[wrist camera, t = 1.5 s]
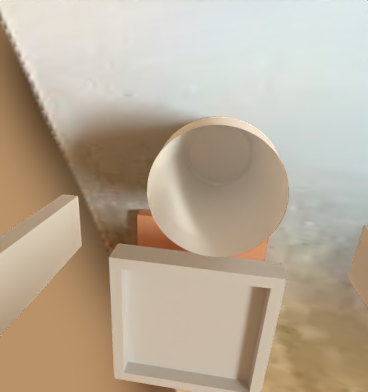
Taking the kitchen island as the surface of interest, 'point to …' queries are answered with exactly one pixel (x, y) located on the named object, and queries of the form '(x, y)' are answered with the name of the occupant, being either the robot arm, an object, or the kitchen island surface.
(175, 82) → the kitchen island surface
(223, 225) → the cup
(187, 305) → the stand
